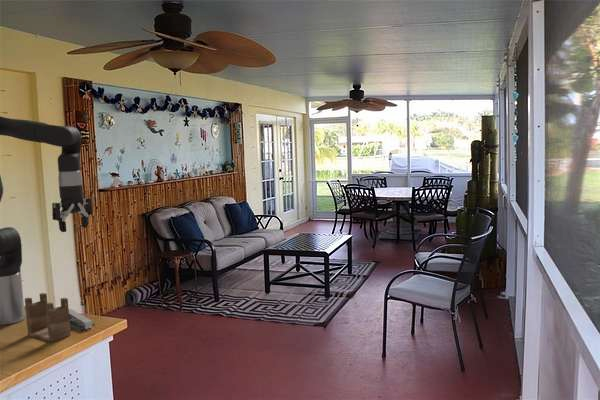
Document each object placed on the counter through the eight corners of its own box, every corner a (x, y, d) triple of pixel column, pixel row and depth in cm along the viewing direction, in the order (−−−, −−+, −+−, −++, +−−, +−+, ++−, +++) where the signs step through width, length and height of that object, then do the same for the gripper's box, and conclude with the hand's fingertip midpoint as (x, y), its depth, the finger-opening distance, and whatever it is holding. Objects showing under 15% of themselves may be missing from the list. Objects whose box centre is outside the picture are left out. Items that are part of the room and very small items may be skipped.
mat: (60, 325, 174) (60, 324, 173) (75, 319, 179) (75, 318, 179) (79, 330, 169) (79, 329, 169) (94, 324, 174) (94, 323, 174)
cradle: (28, 334, 166) (24, 298, 164) (46, 328, 171) (42, 292, 170) (52, 342, 160) (49, 304, 158) (70, 335, 165) (67, 298, 163)
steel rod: (64, 316, 177) (64, 310, 177) (71, 315, 179) (70, 308, 179) (85, 329, 169) (85, 322, 168) (92, 327, 171) (92, 320, 170)
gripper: (81, 181, 183) (84, 225, 185) (45, 185, 171) (49, 232, 173) (95, 182, 179) (98, 226, 182) (59, 186, 167) (63, 234, 169)
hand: (74, 229), depth 177 cm, fingers open, 8 cm apart
